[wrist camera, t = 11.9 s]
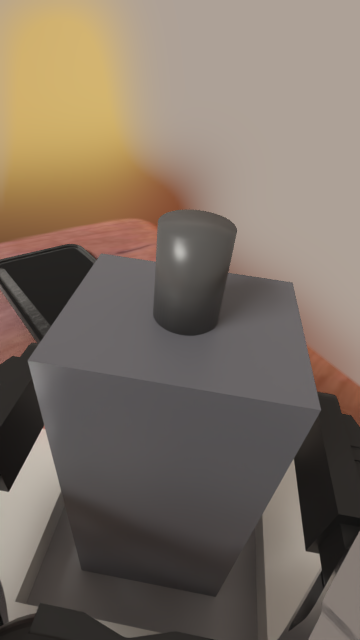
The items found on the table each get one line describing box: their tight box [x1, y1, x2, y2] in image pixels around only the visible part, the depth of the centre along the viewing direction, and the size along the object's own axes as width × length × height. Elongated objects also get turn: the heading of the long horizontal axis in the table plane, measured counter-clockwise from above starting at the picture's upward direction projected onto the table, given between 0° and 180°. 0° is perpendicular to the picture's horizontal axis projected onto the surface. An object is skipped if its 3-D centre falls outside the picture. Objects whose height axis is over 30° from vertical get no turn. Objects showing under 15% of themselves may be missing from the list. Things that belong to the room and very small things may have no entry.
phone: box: [0, 244, 96, 344], centre depth 26 cm, size 8×1×15 cm
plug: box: [28, 210, 321, 597], centre depth 10 cm, size 5×4×13 cm
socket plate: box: [0, 426, 321, 640], centre depth 14 cm, size 16×14×2 cm
